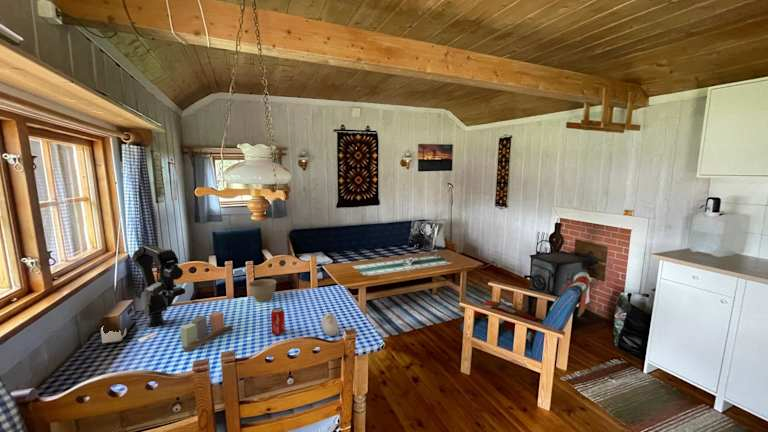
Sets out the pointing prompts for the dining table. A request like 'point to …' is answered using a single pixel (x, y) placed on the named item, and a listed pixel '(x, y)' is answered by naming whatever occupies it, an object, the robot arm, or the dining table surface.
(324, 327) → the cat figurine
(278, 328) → the soda can
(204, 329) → the key grey
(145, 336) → the tile
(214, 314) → the key terracotta
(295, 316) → the dining table surface
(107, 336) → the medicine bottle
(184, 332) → the key sage
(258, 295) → the planter bowl
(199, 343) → the key console
